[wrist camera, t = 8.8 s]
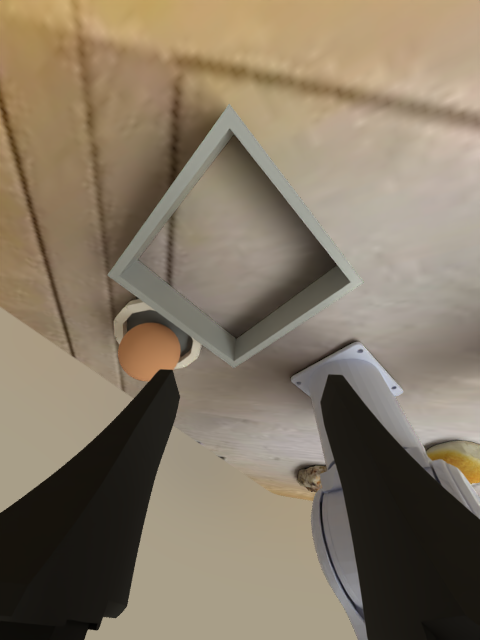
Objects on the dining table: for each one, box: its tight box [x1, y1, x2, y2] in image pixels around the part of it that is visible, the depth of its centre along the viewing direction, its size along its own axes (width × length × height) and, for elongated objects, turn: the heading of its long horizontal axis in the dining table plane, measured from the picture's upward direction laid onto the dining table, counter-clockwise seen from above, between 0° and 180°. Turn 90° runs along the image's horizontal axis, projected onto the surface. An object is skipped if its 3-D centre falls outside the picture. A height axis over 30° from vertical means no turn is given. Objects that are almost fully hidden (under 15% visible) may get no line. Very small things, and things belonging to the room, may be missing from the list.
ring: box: [114, 298, 202, 369], centre depth 22 cm, size 8×8×1 cm
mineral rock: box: [298, 465, 327, 492], centre depth 38 cm, size 11×4×8 cm
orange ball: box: [118, 323, 181, 381], centre depth 20 cm, size 5×5×5 cm
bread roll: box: [426, 441, 480, 484], centre depth 31 cm, size 8×9×4 cm
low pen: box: [108, 104, 364, 368], centre depth 17 cm, size 12×12×3 cm
